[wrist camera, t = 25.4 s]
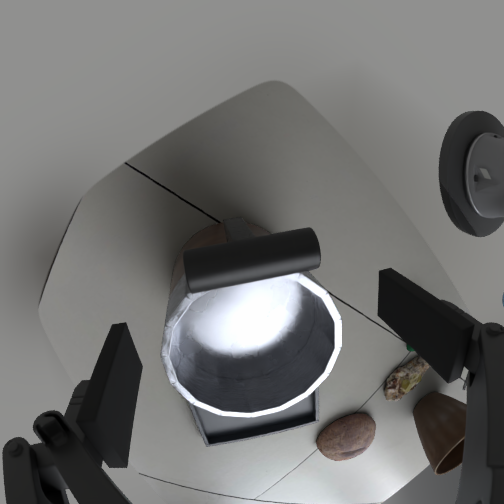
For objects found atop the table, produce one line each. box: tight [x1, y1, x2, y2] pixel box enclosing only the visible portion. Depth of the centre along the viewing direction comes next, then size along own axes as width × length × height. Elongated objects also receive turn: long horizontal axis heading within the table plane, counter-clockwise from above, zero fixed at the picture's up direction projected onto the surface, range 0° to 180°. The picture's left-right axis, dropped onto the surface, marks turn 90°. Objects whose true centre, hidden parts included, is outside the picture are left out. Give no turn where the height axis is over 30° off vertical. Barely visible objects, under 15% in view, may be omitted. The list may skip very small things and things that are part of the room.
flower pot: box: [413, 392, 467, 475], centre depth 47 cm, size 15×15×16 cm
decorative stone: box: [316, 413, 376, 461], centre depth 49 cm, size 12×12×6 cm
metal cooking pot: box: [161, 217, 342, 418], centre depth 22 cm, size 18×14×13 cm
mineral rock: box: [384, 357, 430, 401], centre depth 49 cm, size 11×4×8 cm
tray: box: [187, 386, 319, 447], centre depth 44 cm, size 17×19×2 cm
